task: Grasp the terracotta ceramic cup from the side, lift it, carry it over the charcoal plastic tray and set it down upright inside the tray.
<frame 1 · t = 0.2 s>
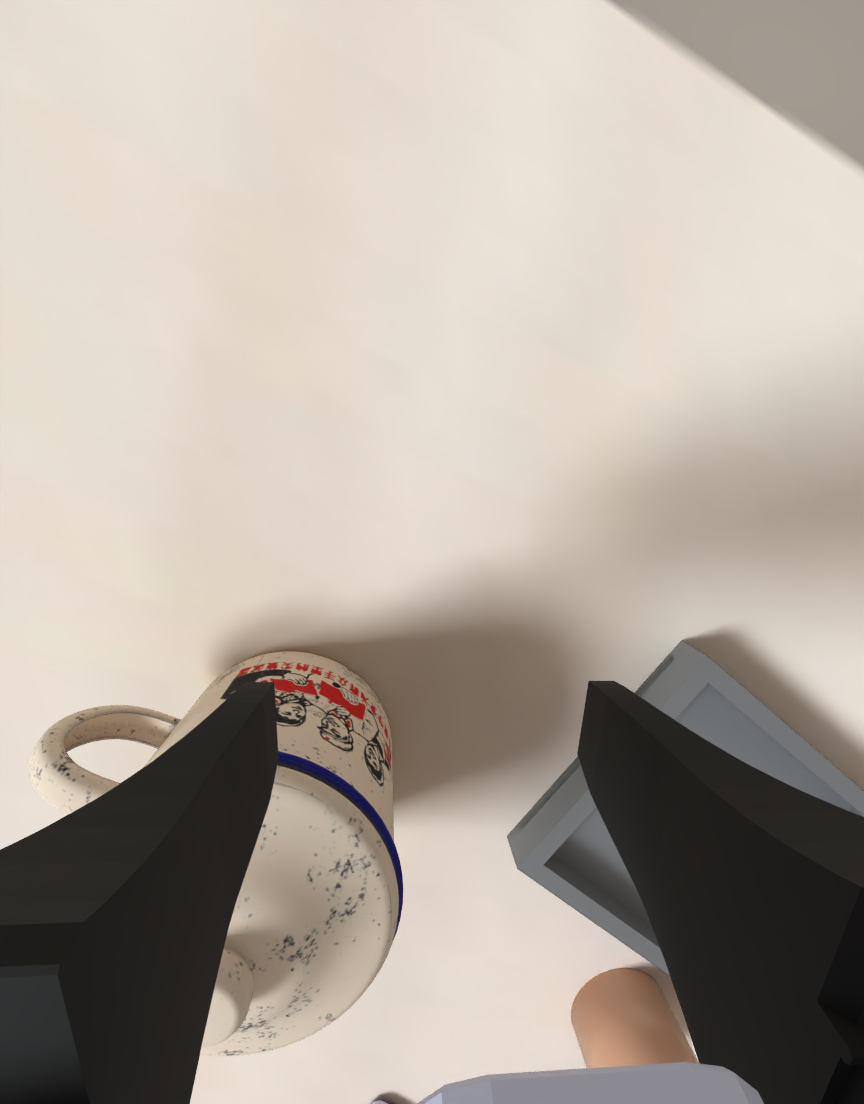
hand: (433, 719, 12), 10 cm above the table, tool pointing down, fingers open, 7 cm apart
charcoal tray: (690, 817, 25), on the table
terracotta cup: (617, 1009, 27), on the table
teacup with lid: (262, 727, 23), on the table
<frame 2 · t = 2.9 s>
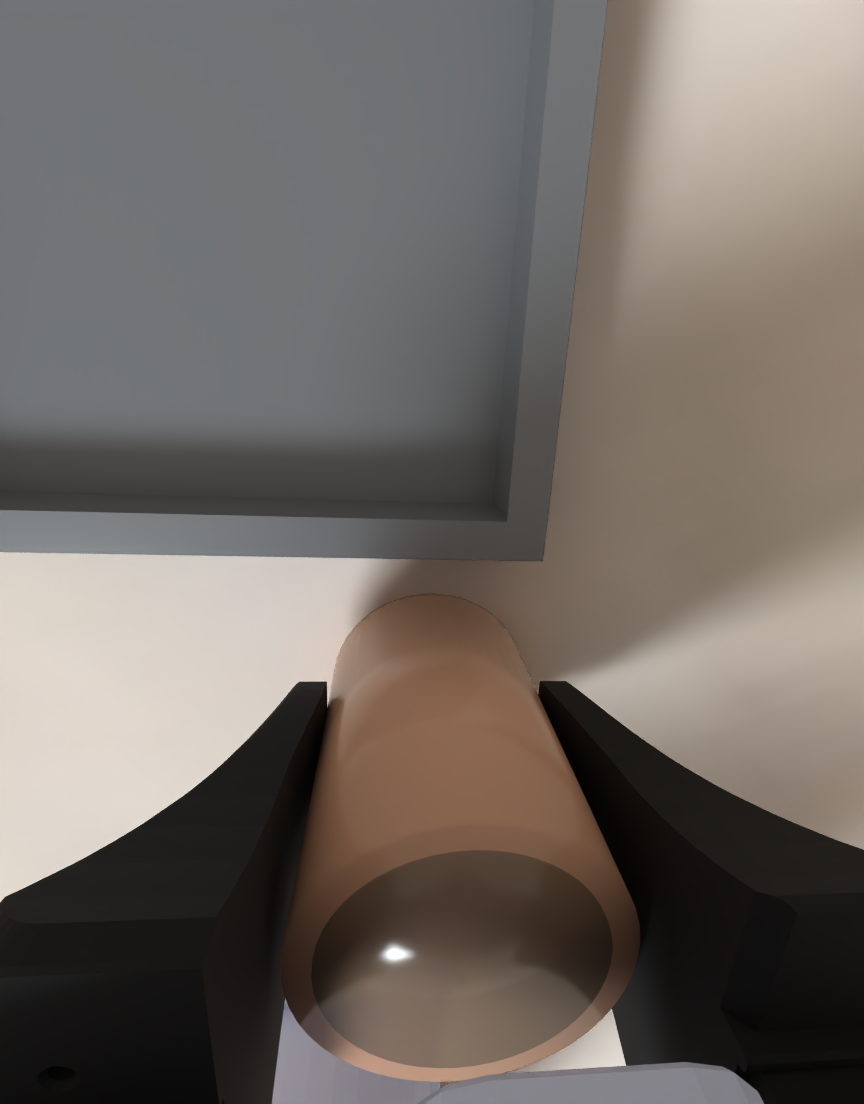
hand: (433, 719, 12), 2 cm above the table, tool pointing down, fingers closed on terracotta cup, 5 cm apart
charcoal tray: (215, 223, 10), on the table
terracotta cup: (428, 680, 14), on the table, touching gripper
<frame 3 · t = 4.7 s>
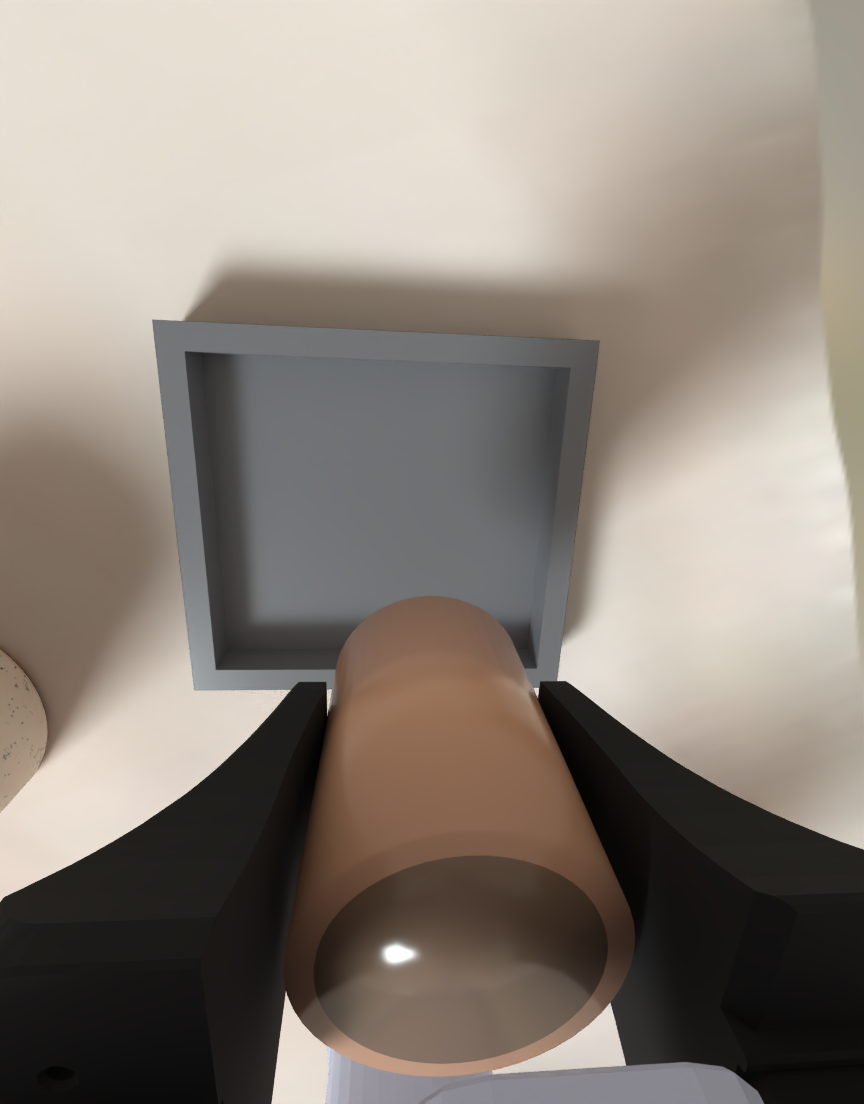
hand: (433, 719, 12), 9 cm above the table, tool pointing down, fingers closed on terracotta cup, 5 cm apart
charcoal tray: (382, 513, 19), on the table
terracotta cup: (428, 680, 14), point 7 cm above the table, touching gripper
when the fingers open (4 cm above the table, at t = 6.7 s): terracotta cup drops 1 cm, resting on charcoal tray.
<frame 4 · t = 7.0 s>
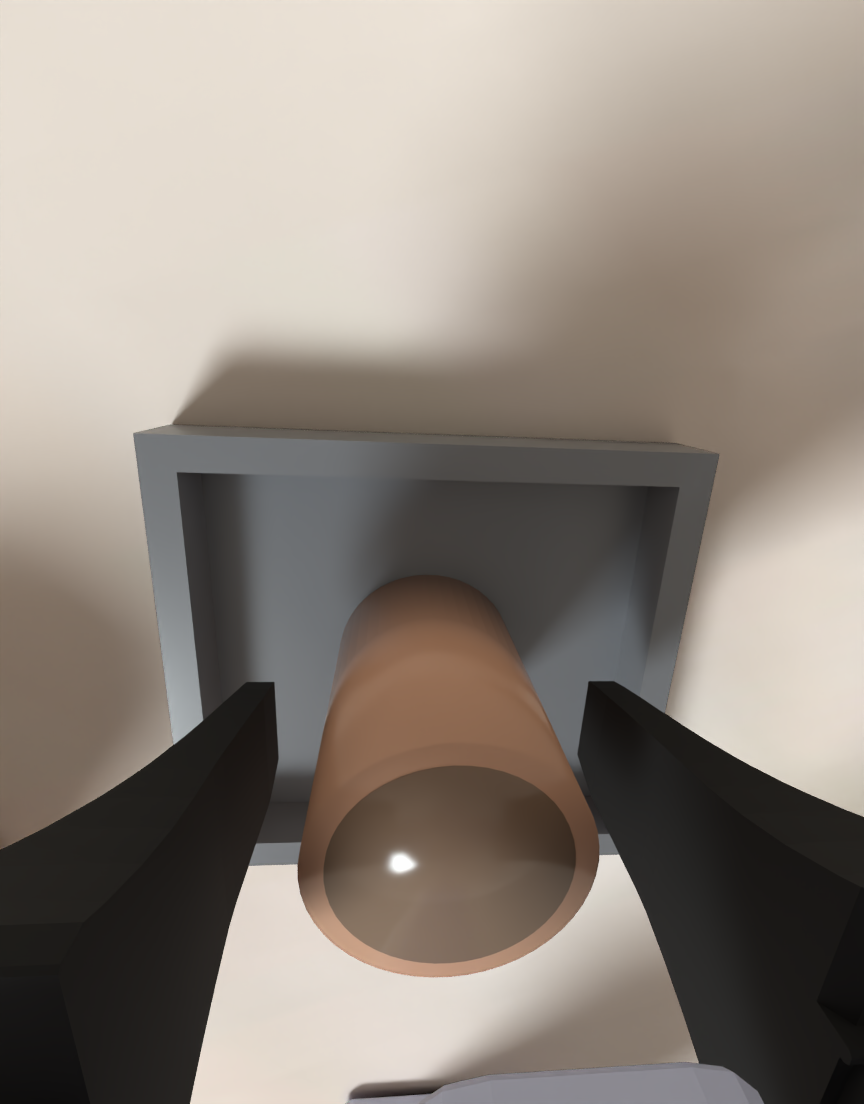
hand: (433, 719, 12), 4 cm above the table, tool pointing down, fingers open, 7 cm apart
charcoal tray: (423, 643, 16), on the table
terracotta cup: (425, 654, 15), point 1 cm above the table, touching charcoal tray
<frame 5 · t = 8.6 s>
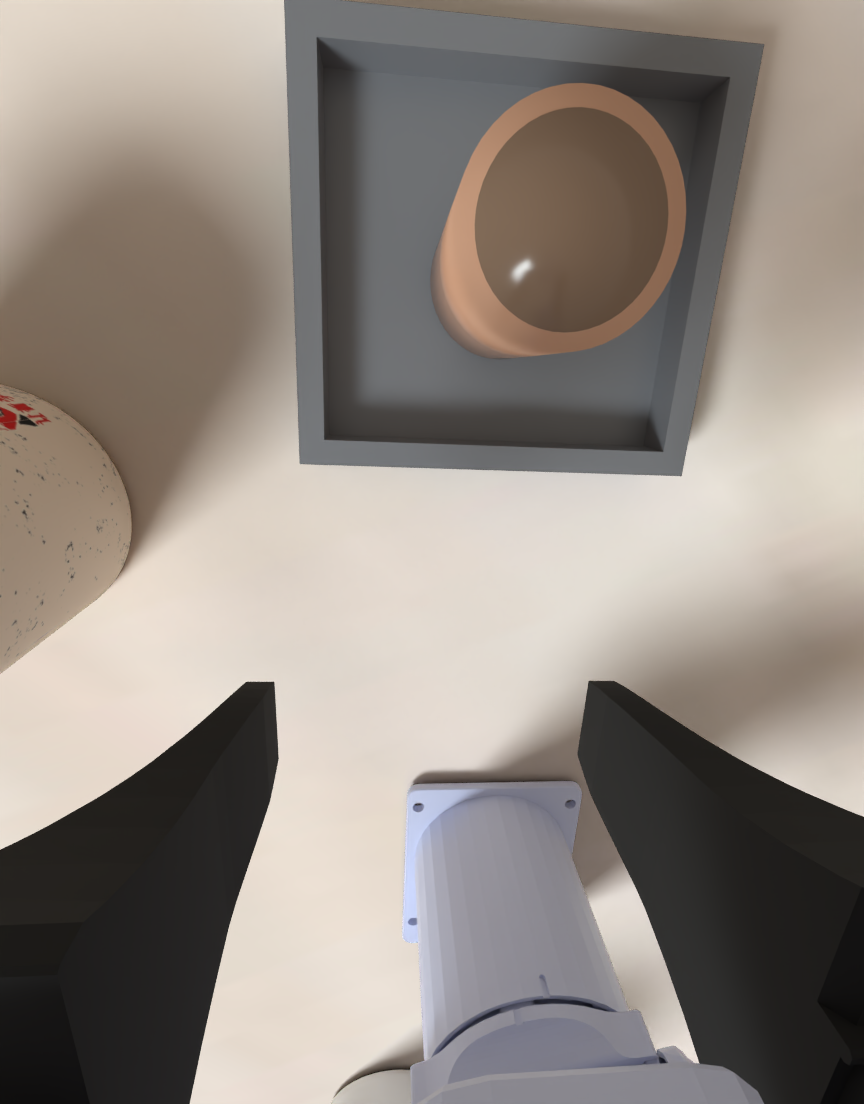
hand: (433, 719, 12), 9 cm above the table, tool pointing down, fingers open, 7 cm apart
charcoal tray: (499, 282, 18), on the table
terracotta cup: (503, 281, 18), resting on charcoal tray
pill bottle: (393, 1102, 32), on the table
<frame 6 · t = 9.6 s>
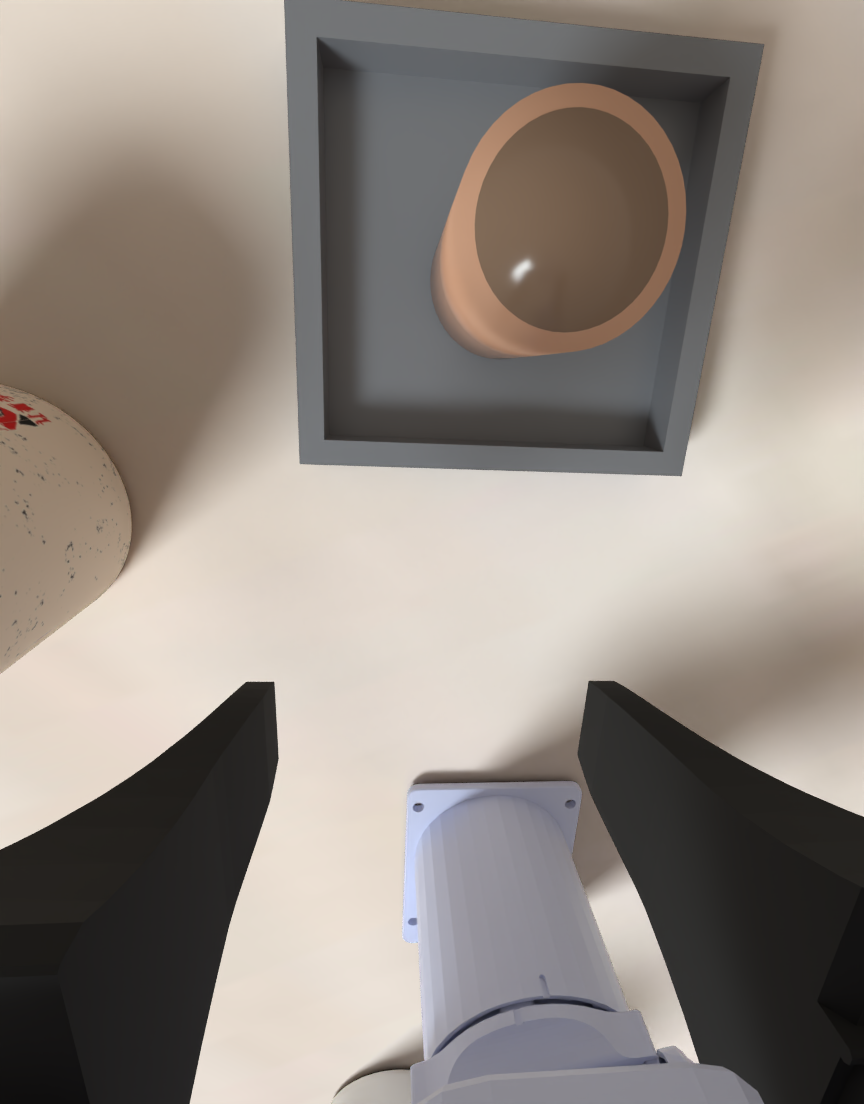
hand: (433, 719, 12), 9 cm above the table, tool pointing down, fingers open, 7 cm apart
charcoal tray: (499, 282, 18), on the table
terracotta cup: (503, 281, 18), resting on charcoal tray
pill bottle: (393, 1102, 32), on the table
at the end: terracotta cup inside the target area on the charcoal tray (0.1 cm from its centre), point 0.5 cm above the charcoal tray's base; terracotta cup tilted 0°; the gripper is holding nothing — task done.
